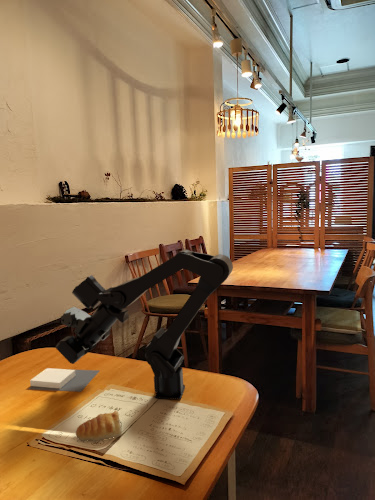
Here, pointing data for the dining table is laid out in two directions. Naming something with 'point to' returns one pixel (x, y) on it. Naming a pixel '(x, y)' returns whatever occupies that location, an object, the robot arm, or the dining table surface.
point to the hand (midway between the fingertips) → (67, 359)
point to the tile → (53, 378)
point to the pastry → (100, 427)
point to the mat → (74, 381)
